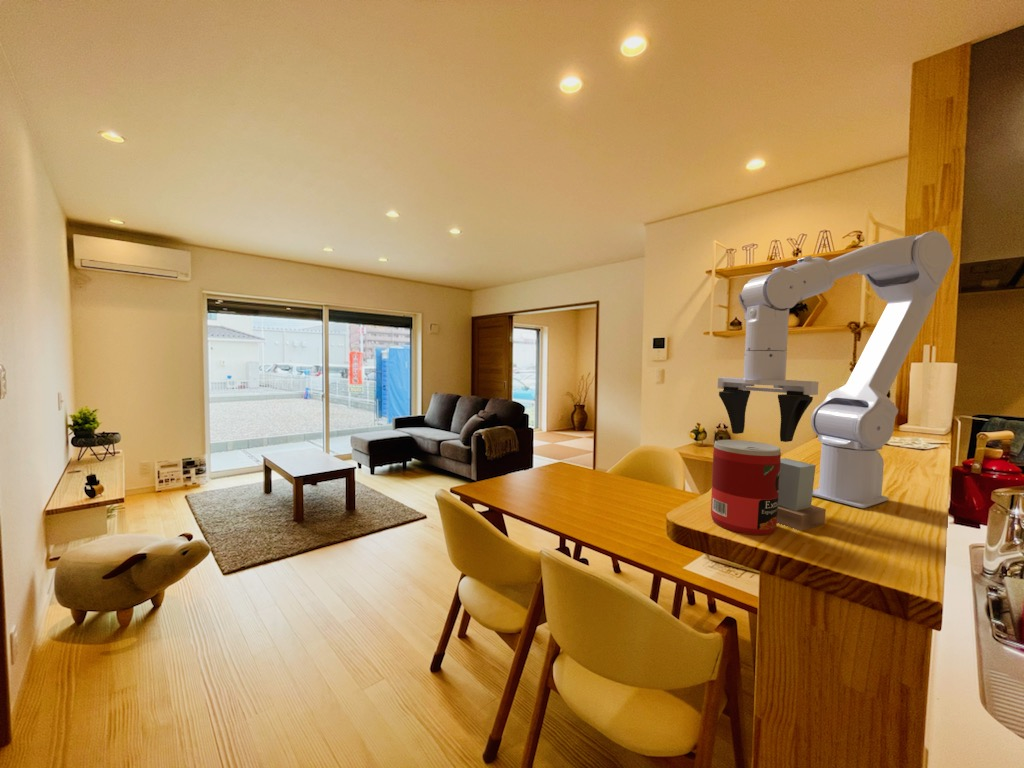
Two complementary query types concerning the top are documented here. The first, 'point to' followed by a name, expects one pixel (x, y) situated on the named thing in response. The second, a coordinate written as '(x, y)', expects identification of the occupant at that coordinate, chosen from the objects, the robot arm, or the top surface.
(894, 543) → the top surface
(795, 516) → the walnut block
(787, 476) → the grey block
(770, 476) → the canned food
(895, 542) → the top surface
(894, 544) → the top surface
